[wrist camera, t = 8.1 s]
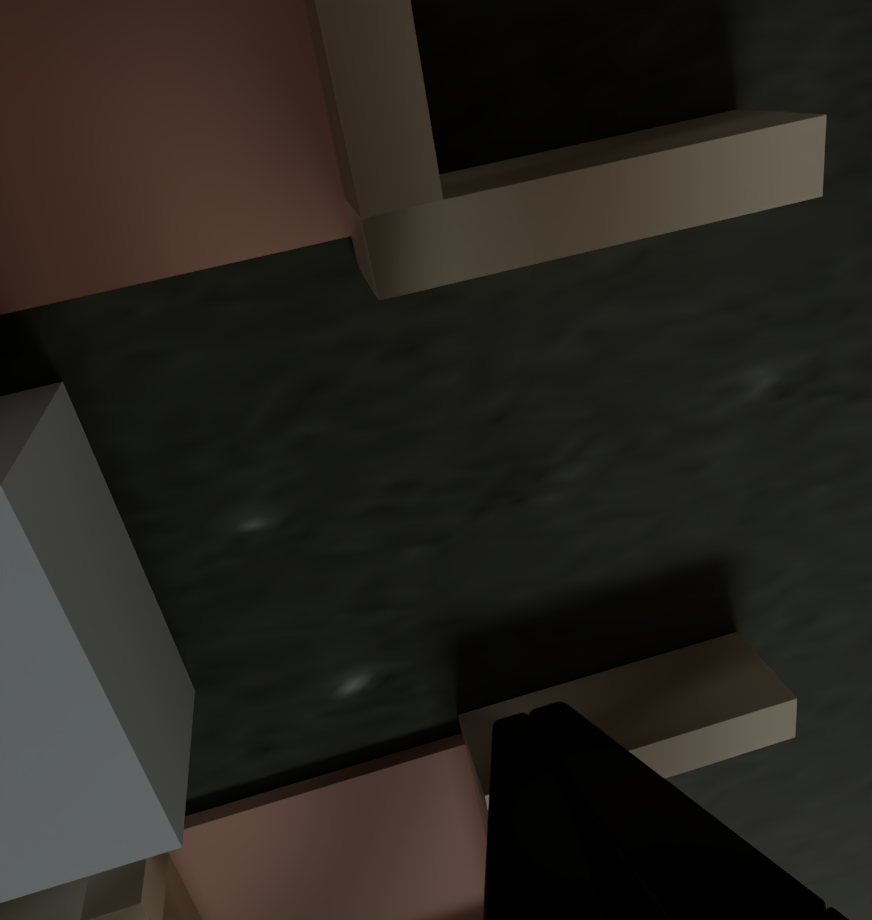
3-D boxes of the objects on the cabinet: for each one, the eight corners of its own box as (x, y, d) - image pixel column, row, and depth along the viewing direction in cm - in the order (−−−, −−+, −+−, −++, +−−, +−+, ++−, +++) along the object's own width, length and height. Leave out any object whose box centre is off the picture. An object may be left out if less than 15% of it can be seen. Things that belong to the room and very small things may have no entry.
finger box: (740, -594, 8) (965, -898, 6) (736, 875, 20) (811, 997, 17) (-1217, -380, 7) (-2204, -688, 4) (29, 1113, 18) (-8, 1291, 15)
